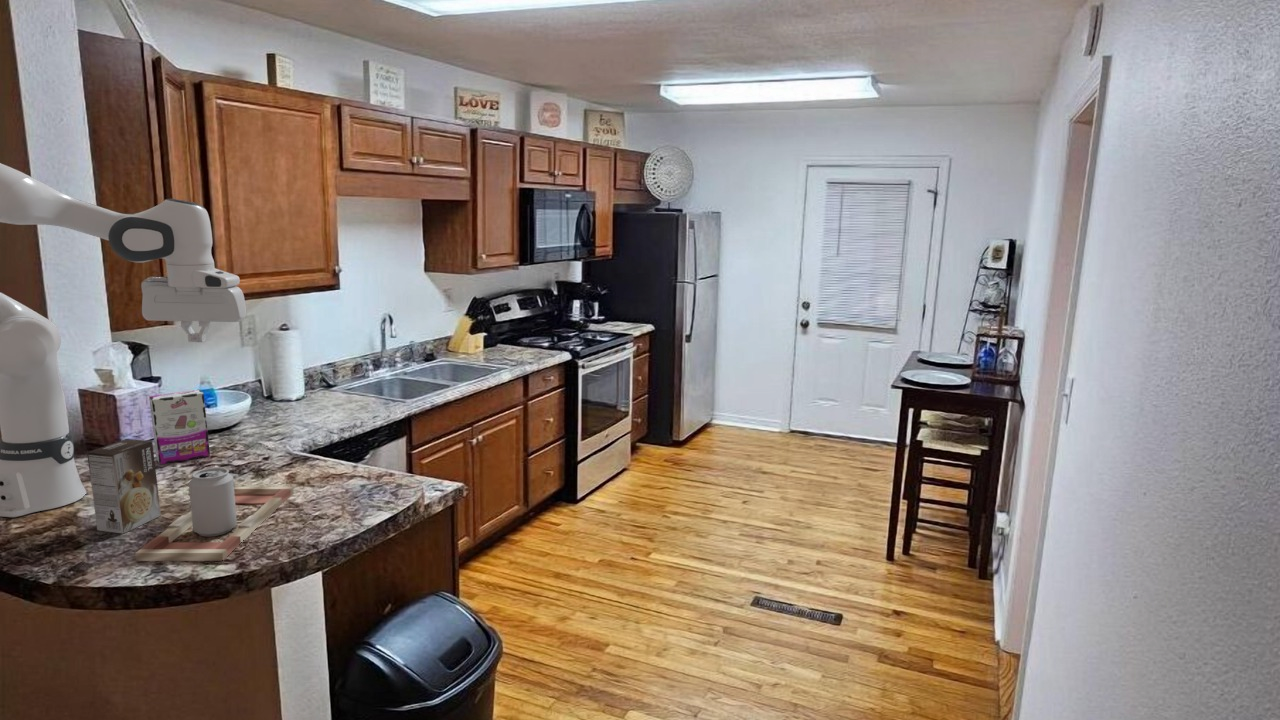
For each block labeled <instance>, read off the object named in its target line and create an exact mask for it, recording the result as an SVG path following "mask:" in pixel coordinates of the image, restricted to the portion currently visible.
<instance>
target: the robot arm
mask: <svg viewBox="0 0 1280 720" xmlns="http://www.w3.org/2000/svg"><path fill="white" fill-rule="evenodd" d="M0 223H2V224H11V225H19V226H20V225H21V226H25V225H27V226H28V225H32V226H34V225H36V226H37V225H41V226H43V225H45V226H55V227H61V228H66V229H69V230H73V231H76V232H79V233H84V234H86V235H90V236H92V237H96V238H99V239H103V240H105V241H108V243H109V246H110V248H111V249H112V250H113V252H114V253H115V254H116V255H117V256H118V257H120V258H122V259H123V260H125V261H129V262H133V263H138V264H139V263H147V262H151V261H154V260H159V259H162V260H163V259H164V260H165V265H166V267H165V268H166V274H167V275H166V276H159V277H157V276H148V277H147V278H146V279H144V280H142V281H141V285H140V287H141V293H142V299H141V300H142V302H141V314H142V317H143V318H144V320H146V321H150V322H152V321H156V322H158V321H160V322H180V326H181V328H182V329H183V330H184V332H185V333H186V334H187V341H188V343H204V342H206V341H207V335H206V334H207V333H208V330H209V328H210V327H211V322H212V323H213V322H216V323H218V322H219V323H221V322H223V323H239V322H241V321H243V320H244V319H246V317H247V305H246V299H245V295H244V292H243V291H242V289H241V288H240V287H239V285H240V280H241V279H240V277H239V276H238V275H237V274H234V273H231V272H227V271H225V270H221V269H218V268H216V266H215V261H214V258H213V255H212V247H213V231H212V225H211V220H210V216H209V213H208V211H207V209H206V208H205V207H204V206H203V205H202V204H199V203H197V202H194V201H188V200H183V199H178V198H177V199H176V198H166V199H164V201H162V202H160V203H159V204H157V205H156V206H153V207H150V208H149V209H145V210H143V211H141V212H136V213H126V212H119V211H115V210H112V209H108V208H105V207H102V206H99V205H95V204H92V203H89V202H87V201H83V200H81V199H77V198H75V197H72V196H69V195H68V194H64V193H62V192H61V191H58V190H57V189H55V188H53V187H52V186H49V185H47V184H46V183H43V182H42V181H40V180H38V179H37V178H34V177H32V176H30V175H28V174H26V173H25V172H22V171H20V170H18V169H16V168H13V167H11V166H8V165H6V164H3V163H1V162H0ZM194 322H198V326H199V327H201V328H200V330H199V332H195V330H194V329H193V327H192V326H193V324H194ZM61 342H62V335H61V332H60V331H59V328H58V327H57V326H56V324H54V322H52V321H51V320H50V319H49V318H47V317H45V316H43V315H42V314H40V313H38V312H37V311H36V310H35V311H34V310H33V309H32V308H30V307H28V306H26V305H25V304H23V303H21V302H20V301H17V300H15V299H13V298H12V297H10V296H8V295H6V294H5V293H3V292H0V433H1V434H0V435H1V438H0V517H5V518H17V517H23V516H25V515H29V514H32V513H36V512H40V511H41V512H42V511H47V510H53V509H56V508H61V507H63V506H66V505H70V504H73V503H75V502H77V501H79V500H81V499H82V498H84V497H85V496H86V495H85V494H87V490H86V488H85V486H84V484H83V482H82V481H81V478H80V475H79V471H78V469H77V466H76V461H75V458H74V457H75V446H74V445H75V444H74V437H73V432H72V430H70V428H69V427H70V426H69V420H68V419H69V418H68V411H67V402H66V394H65V392H64V389H63V385H62V380H61V374H60V369H59V365H58V357H57V356H58V355H57V354H58V351H59V349H60V348H61ZM84 495H85V496H84ZM83 496H84V497H83Z"/></svg>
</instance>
